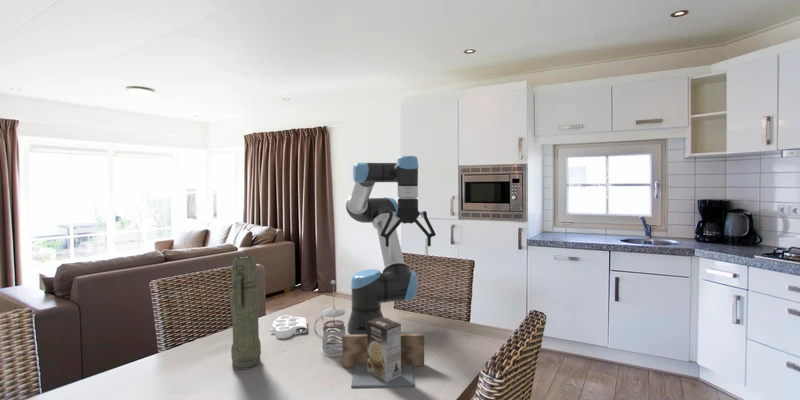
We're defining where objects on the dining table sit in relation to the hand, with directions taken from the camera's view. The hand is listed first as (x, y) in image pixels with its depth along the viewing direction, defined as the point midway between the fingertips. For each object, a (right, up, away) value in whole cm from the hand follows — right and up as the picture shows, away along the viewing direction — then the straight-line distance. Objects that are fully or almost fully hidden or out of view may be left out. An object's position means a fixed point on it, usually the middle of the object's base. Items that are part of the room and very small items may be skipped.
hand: (408, 255), depth 149 cm
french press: (-27, -33, -8) cm, 43 cm away
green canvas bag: (-53, -33, -18) cm, 65 cm away
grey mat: (-8, -33, -27) cm, 43 cm away
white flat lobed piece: (-48, -32, +12) cm, 59 cm away
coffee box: (-8, -33, -27) cm, 43 cm away
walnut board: (-8, -33, -20) cm, 39 cm away
